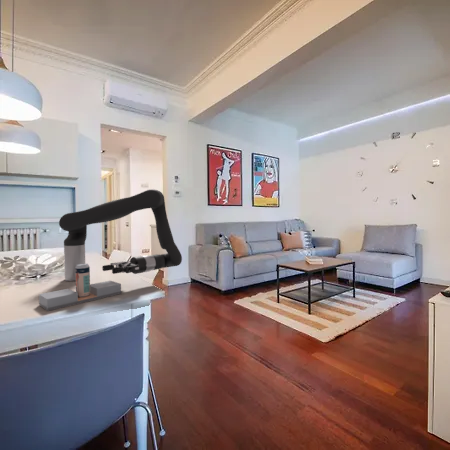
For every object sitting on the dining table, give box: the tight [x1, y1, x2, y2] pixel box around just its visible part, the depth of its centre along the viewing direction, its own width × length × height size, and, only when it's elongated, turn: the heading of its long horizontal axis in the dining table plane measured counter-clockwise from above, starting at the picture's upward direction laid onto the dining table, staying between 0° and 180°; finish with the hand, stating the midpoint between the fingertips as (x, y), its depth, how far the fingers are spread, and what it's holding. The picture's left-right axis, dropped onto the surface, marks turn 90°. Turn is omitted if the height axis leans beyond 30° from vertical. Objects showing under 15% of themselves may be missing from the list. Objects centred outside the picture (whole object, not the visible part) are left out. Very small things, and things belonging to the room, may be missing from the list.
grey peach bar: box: [38, 280, 122, 312], centre depth 102 cm, size 9×26×4 cm, turn 139°
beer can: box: [75, 263, 91, 297], centre depth 102 cm, size 5×5×12 cm
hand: (107, 269), depth 109 cm, fingers open, 8 cm apart
